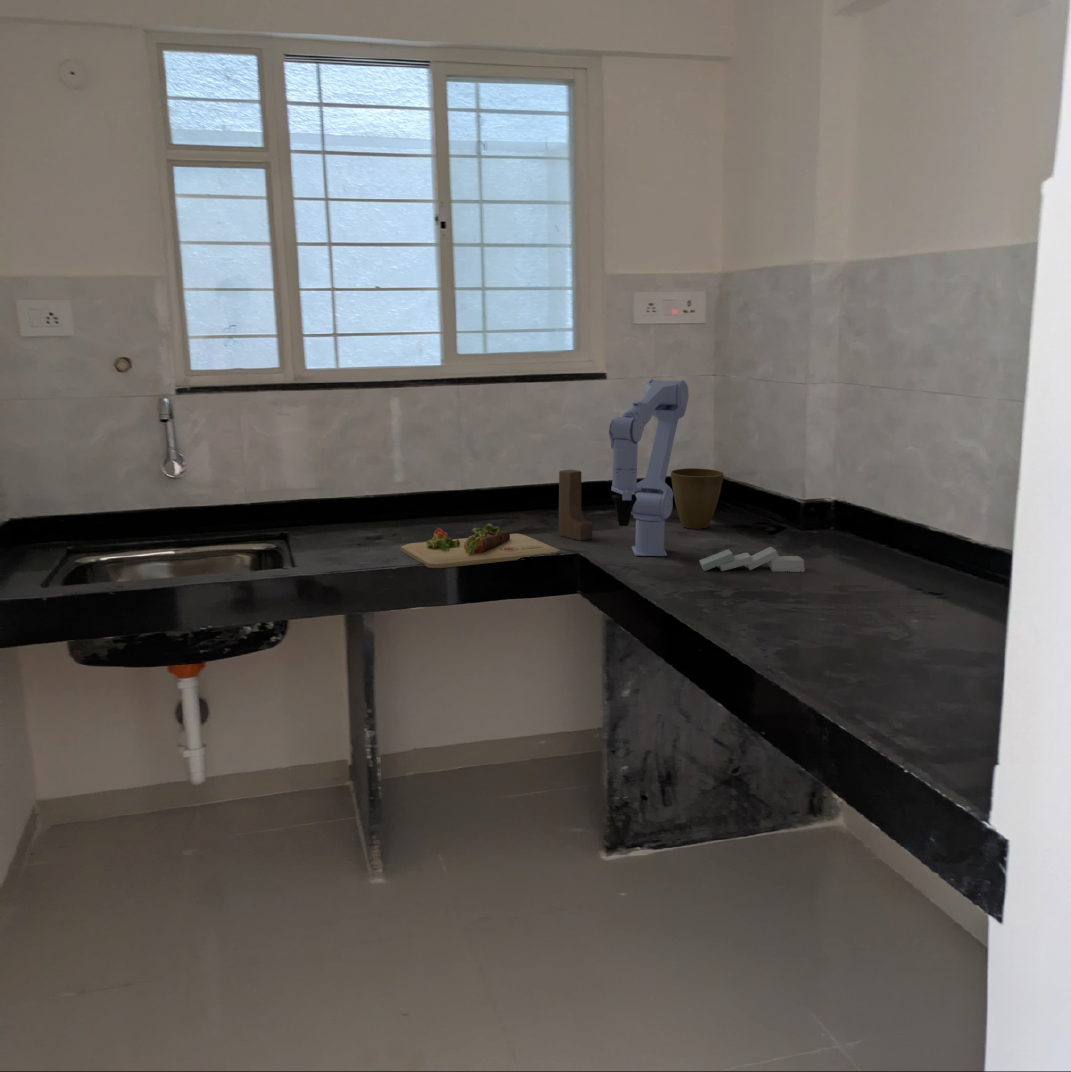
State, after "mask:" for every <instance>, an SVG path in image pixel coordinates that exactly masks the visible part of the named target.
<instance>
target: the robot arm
mask: <svg viewBox="0 0 1071 1072" xmlns="http://www.w3.org/2000/svg"><path fill="white" fill-rule="evenodd" d="M688 387H689V385H688V384H687V382H686V381H685V380H660V379H658V380H657V379H649V380H648V381H647V383H646V384H645V386H644V395H643V397H642V399H640V401H639V400H636V401H635V400H634V402H633V403H632V404H631V405H630V406H629V407H628V408H627V409H626V411H624V413H623V414H622V415H621V416H615V417H614V418H613V419H611V421H610V423H609V428H608V435H609V437H608V438H609V439H610V448H611V449H612V476H611V477H612V478H611V479H612V480H611V483H612V484H611V489H610V490H611V491H612V492H614V493H616V494H613V495H611V498H612V500H613V503H614V506H615V511H616V516H617V517H616V518H617V523H618V525H619V526H620V527H628V526H629V524H630V520H631V515H632V517H633V519H635V544H634V545H633V546H631V549H632V552H633V554H634V556H635V557H666V556H668V554H667V552H666V550H665V523H666V520H667V519H668V518H669V517H670V516H671V514H672V512H673V499H674V493H673V488H671V487H670V486H669V485H668V484H667V483H666V478H667V474H668V473H667V472H668V468H669V465H670V464H669V463H670V459H671V454H672V451H673V446H674V441H675V436H676V433H677V427H678V423H679V419H681V418H683V417H685V414H686V410H687V407H688V406H687V405H688V401H689V398H690V397H689V394H690V393H689V388H688ZM652 416H653V417H655V418H656V419H657V424H656V429H655V433H654V438H653V443H652V445H651V446H652V448H651V451H650V456H649V461H648V465H647V470H646V474H645V478H643V479H642V480H640V481H639V482H638V481H637V480H638V478H637V477H638V445H639V444H638V443H639V442H640V441H641V439H642V436H643V434H644V433H643V432H644V430H645V427H646V426H647V424H648V423H649V422H650V421H651V420H652V418H653V417H652Z"/></svg>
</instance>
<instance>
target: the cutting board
mask: <svg viewBox="0 0 1071 1072" xmlns="http://www.w3.org/2000/svg"><path fill="white" fill-rule="evenodd" d="M471 532H473V533H474V534H472V535H470V536H468V538H467V537H465V538H454V539H452V538H451V537H449V534H448V533H447V532H446V531H444V530H443V529H442V528H440V527H437V528H436V529H435V530H434V532H433V537H432V539H428V540H427V541H423V542H413V543H412V542H411V543H406V544H405V545H401V546H400V551H401V552H402V553H404V554H406V555H407V556H409V557H410V558H412V559H414V560H415V561H417V562H418V561H420V562H422V563H424V564H425V565H424V566H425V567H427V568H428V569H446V568H453V567H455V568H456V567H463V566H473V565H480V564H481V565H483V564H492V563H500V562H501V563H502V562H510V561H519V560H518V559H520V558H523V557H530V556H534V555H541V554H551V553H556V552H558V551H560V550H561V549H558V548H556V547H553V546H552V545H549V544H547V543H544V542H542V541H540V540H538V539H535V538H532V537H531V536H527V535H526V534H522V533H510V531H508V530H505V529H503V528H501V527H500V526H494V525H493V524H491V523H487V524H486V525H485V526H484V527H483V528H480V527H474V528H473V529H471ZM560 552H561V551H560ZM420 562H419V563H420ZM422 563H421V564H422Z"/></svg>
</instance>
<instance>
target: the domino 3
mask: <svg viewBox="0 0 1071 1072" xmlns="http://www.w3.org/2000/svg"><path fill="white" fill-rule="evenodd" d="M750 556H751V557H752V562H753V563H751V564H747V565H744V567H746V569H748V570H749V571H752V570H754V569H756V568H757V567H760V566H761V565H762V566H763V565H764V564H767V562H768V561H771V560H773V559H775V558H777V557H779V556H780V555H779V554H778V551H777V550H776V549H775V548H774V547H772V546H768V547H767V548H765V549H763V550H760V551H759V552H756V553H754V554H752V555H750Z"/></svg>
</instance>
